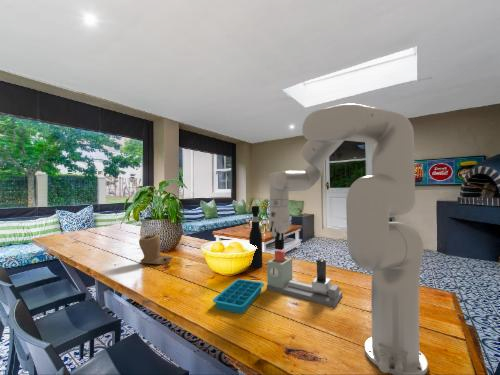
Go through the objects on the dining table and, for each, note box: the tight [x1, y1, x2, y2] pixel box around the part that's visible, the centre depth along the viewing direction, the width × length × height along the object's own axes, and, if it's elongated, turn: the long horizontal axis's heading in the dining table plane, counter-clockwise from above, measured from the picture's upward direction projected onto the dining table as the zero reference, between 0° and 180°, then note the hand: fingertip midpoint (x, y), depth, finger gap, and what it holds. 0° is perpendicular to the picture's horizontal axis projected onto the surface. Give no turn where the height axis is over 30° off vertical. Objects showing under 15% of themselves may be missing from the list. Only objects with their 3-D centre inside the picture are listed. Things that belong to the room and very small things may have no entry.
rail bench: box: [266, 256, 343, 308], centre depth 91 cm, size 10×26×10 cm, turn 56°
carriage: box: [311, 258, 332, 295], centre depth 87 cm, size 6×5×11 cm
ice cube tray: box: [212, 278, 264, 314], centre depth 87 cm, size 12×20×3 cm, turn 157°
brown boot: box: [138, 233, 173, 265], centre depth 128 cm, size 15×12×15 cm
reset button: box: [274, 249, 286, 263], centre depth 97 cm, size 4×4×6 cm
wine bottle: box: [248, 205, 263, 269], centre depth 121 cm, size 6×6×30 cm
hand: (279, 248), depth 97 cm, fingers closed
